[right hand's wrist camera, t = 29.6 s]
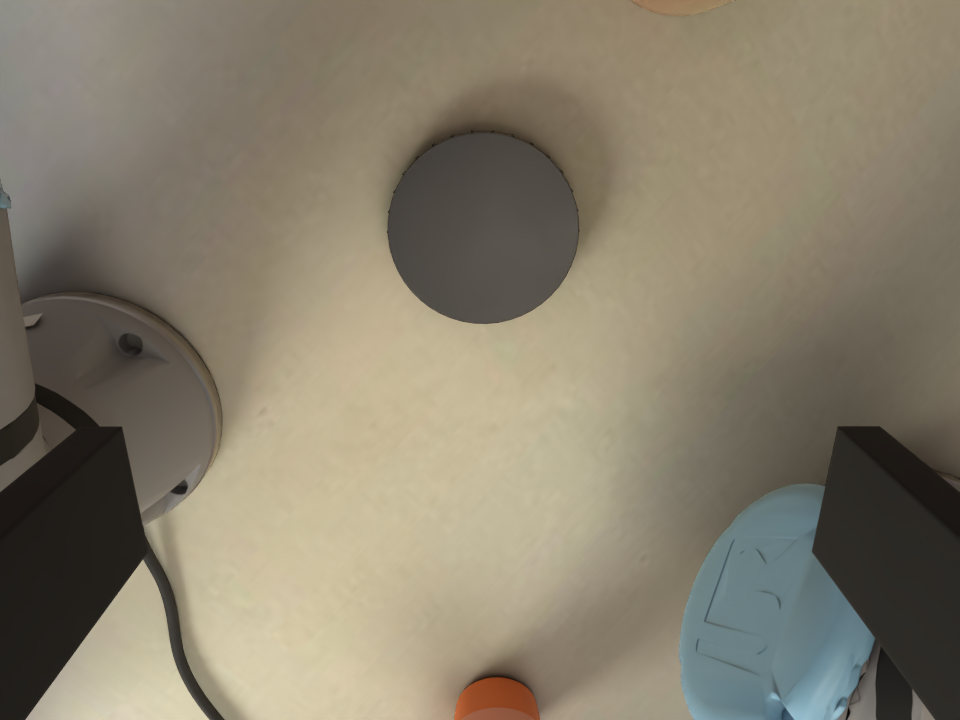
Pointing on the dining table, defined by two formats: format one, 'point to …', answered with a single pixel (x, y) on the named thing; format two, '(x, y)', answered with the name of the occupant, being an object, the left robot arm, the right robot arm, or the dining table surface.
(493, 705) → the cup with straw
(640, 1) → the jar
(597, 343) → the dining table surface
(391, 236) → the lid
